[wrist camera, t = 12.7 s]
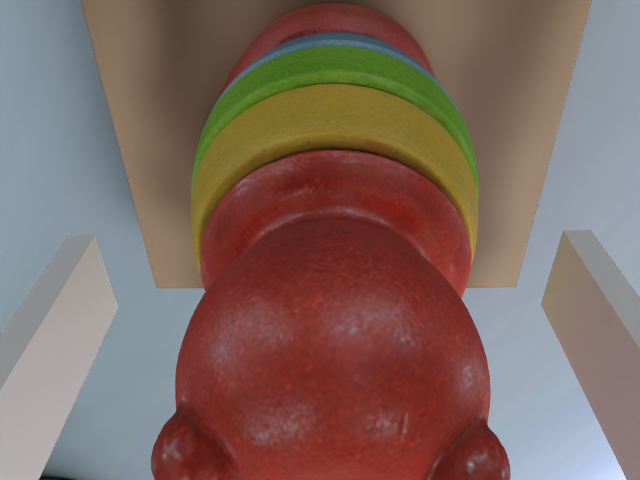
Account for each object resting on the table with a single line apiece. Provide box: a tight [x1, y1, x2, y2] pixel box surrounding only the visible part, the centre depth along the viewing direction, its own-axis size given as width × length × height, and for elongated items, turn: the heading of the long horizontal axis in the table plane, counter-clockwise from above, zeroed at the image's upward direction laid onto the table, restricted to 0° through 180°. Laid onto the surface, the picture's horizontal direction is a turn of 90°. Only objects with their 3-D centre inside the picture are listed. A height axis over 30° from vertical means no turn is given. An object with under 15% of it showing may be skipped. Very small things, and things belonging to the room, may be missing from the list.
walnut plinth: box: [81, 0, 592, 288], centre depth 25 cm, size 20×20×4 cm
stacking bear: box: [151, 3, 510, 480], centre depth 16 cm, size 11×10×18 cm
